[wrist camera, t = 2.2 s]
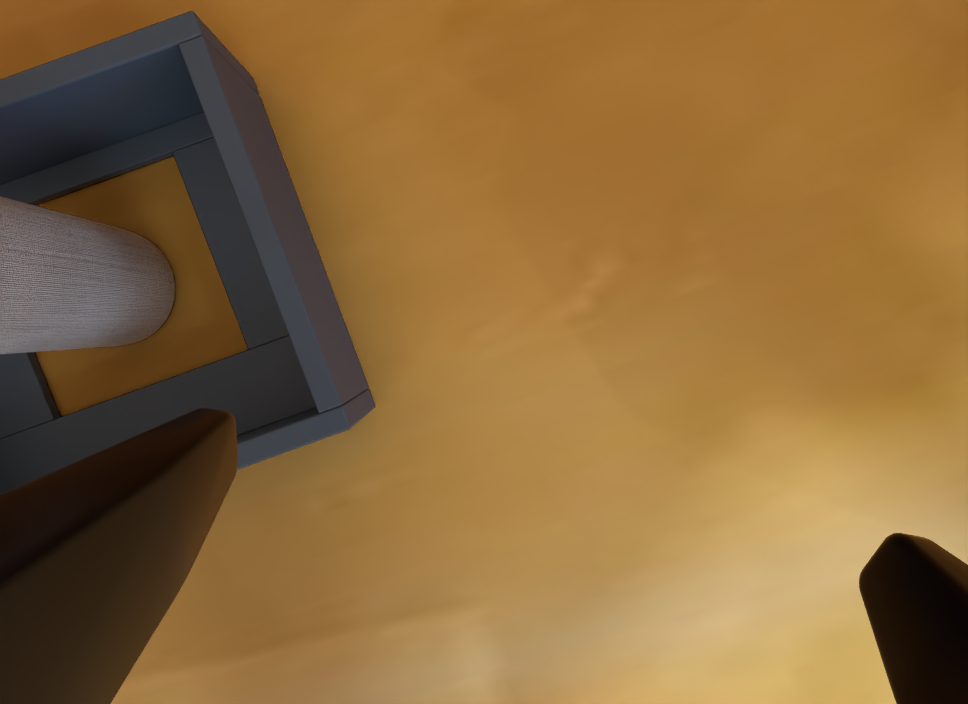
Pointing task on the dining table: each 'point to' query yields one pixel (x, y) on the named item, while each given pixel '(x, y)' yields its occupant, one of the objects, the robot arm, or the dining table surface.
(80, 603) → the robot arm
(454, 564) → the dining table surface
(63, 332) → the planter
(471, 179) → the dining table surface
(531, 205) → the dining table surface
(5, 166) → the basket
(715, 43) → the dining table surface
